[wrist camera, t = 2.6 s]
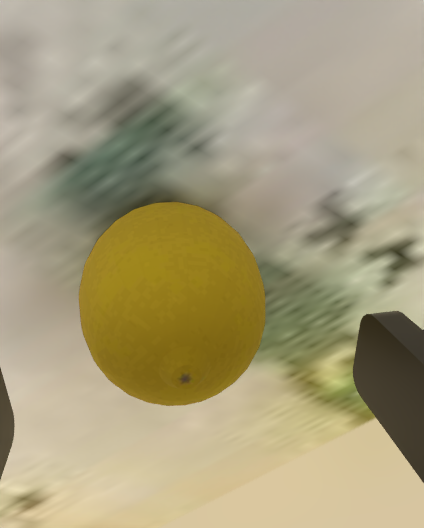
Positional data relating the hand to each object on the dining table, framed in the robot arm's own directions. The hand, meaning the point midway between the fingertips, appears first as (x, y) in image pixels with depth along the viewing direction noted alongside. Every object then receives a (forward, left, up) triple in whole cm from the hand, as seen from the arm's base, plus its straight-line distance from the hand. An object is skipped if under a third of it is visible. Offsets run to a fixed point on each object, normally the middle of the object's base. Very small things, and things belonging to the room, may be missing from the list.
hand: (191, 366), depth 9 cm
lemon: (0, 0, -8) cm, 8 cm away
